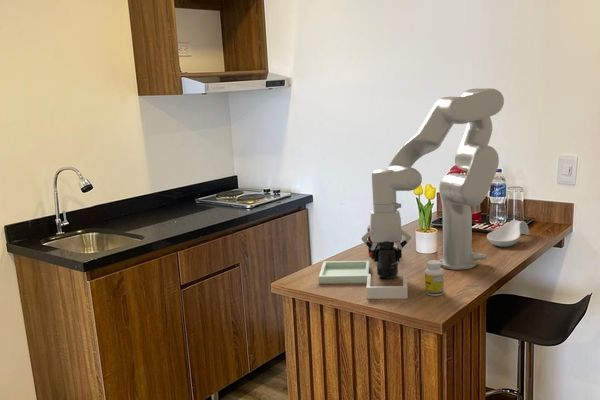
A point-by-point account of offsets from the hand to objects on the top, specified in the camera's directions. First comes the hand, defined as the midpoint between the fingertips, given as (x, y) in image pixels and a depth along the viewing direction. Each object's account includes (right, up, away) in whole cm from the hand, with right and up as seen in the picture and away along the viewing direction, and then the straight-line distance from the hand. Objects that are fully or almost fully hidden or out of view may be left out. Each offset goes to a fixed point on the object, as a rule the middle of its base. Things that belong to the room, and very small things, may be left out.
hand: (387, 260), depth 190 cm
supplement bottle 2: (+12, -8, -16) cm, 21 cm away
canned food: (+1, -1, +26) cm, 26 cm away
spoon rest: (+52, +4, +33) cm, 62 cm away
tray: (-13, -6, +5) cm, 15 cm away
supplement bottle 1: (0, -5, +1) cm, 5 cm away
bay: (-2, -8, -11) cm, 14 cm away
